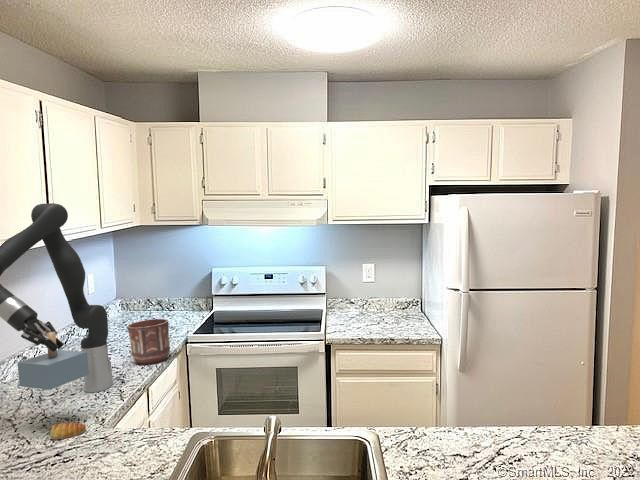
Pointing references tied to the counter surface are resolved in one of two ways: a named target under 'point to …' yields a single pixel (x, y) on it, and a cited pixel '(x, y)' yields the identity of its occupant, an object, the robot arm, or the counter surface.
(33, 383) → the cover
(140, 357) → the pottery
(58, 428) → the pastry
